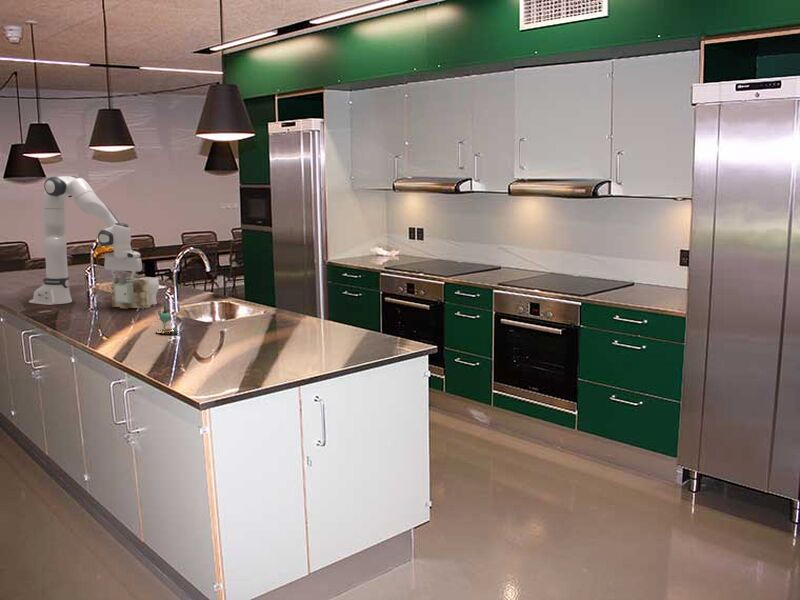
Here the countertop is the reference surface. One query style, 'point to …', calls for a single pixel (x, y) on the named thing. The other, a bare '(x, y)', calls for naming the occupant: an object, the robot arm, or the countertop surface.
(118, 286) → the white square bottle
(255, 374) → the countertop surface
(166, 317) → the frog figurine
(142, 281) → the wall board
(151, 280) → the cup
